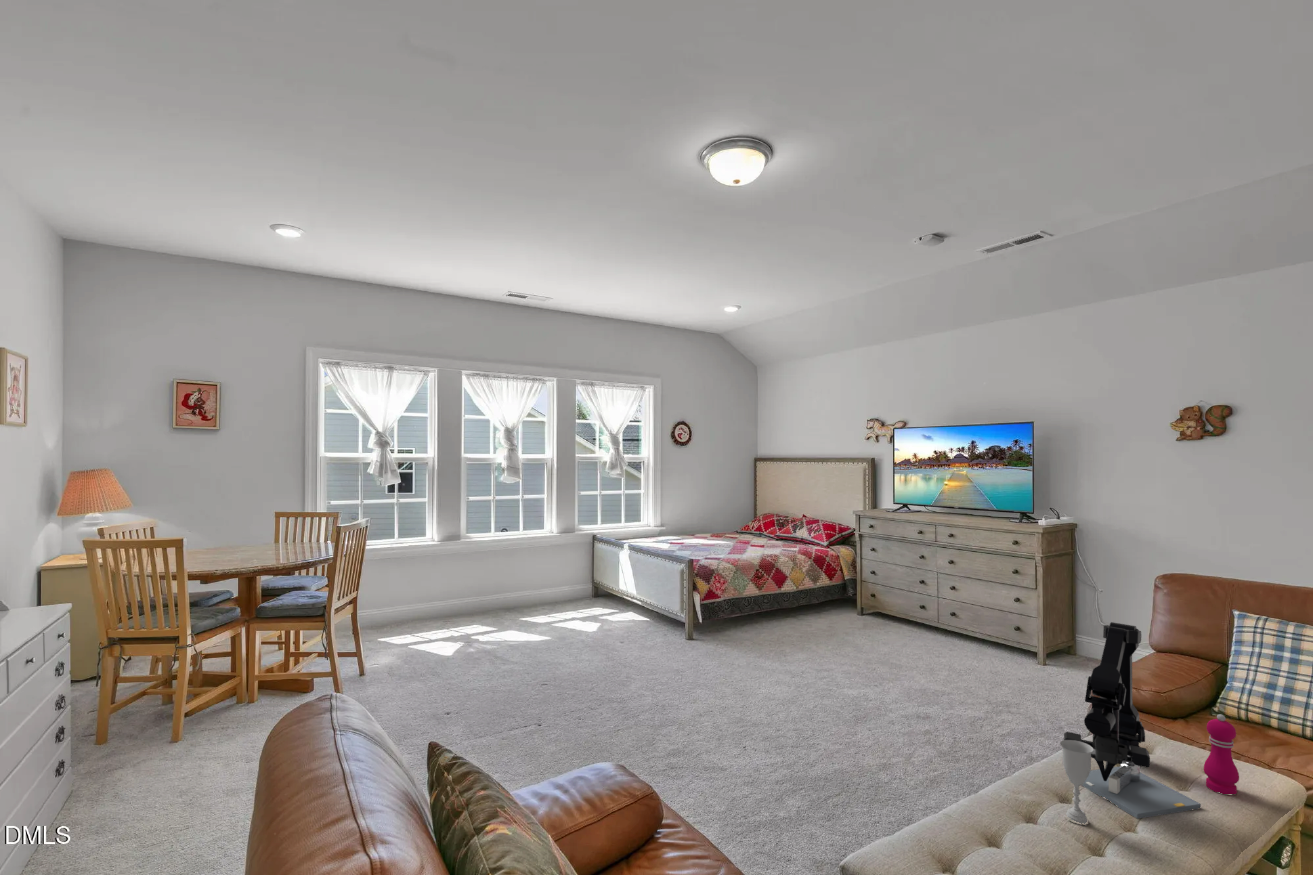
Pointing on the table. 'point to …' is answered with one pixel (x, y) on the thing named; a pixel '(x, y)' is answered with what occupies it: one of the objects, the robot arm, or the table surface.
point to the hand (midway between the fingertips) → (1105, 780)
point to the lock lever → (1124, 776)
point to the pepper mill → (1221, 757)
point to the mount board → (1141, 796)
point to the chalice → (1076, 772)
